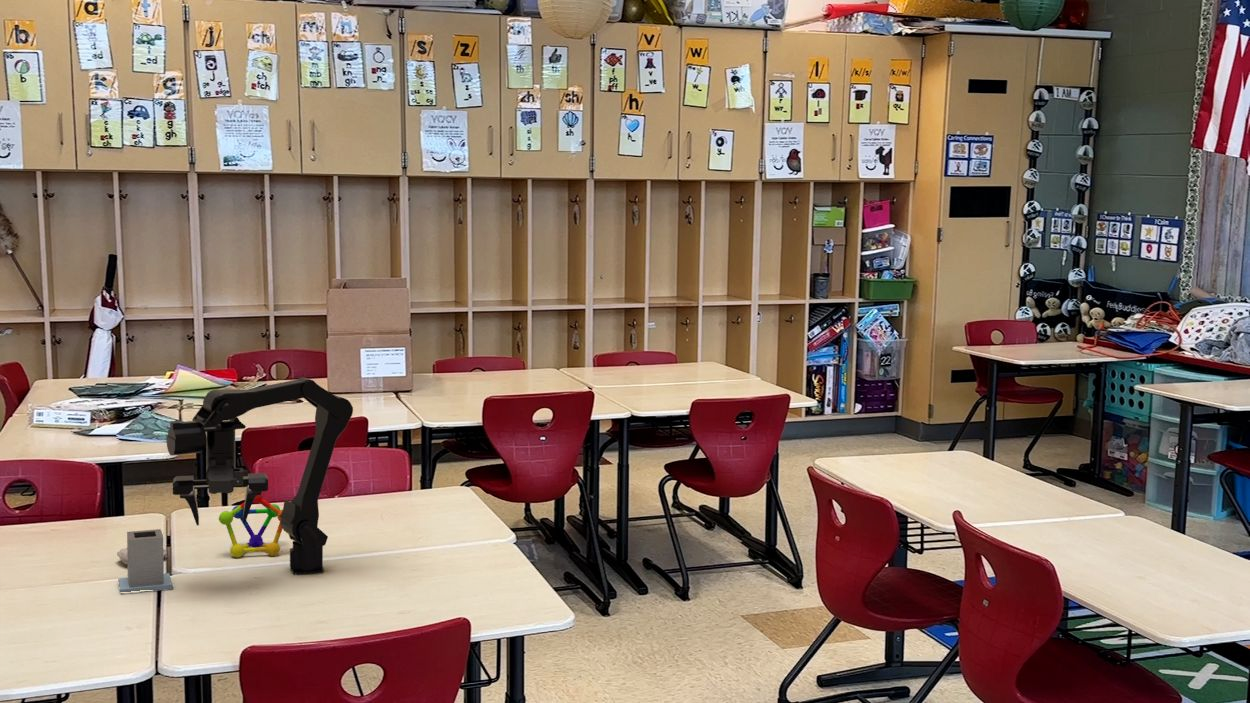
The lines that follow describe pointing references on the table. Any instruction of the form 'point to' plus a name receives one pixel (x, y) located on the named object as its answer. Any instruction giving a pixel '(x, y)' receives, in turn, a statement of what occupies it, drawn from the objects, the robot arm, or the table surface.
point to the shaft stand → (166, 586)
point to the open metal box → (145, 558)
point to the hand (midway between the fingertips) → (221, 523)
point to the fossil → (123, 555)
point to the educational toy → (255, 540)
